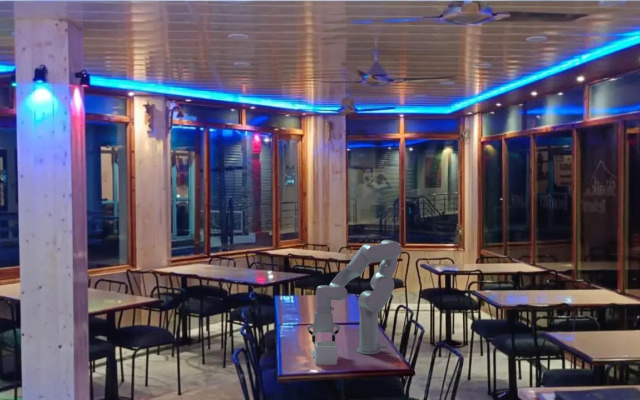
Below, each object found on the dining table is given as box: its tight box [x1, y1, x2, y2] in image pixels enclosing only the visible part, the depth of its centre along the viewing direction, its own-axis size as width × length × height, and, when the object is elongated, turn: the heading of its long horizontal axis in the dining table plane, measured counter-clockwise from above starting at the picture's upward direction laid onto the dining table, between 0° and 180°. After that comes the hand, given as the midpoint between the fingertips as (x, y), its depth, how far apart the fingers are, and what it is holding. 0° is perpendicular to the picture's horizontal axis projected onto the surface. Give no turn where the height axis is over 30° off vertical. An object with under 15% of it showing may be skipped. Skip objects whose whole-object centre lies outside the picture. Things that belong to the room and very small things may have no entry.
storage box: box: [314, 340, 338, 367], centre depth 298 cm, size 10×10×9 cm
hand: (323, 343), depth 312 cm, fingers open, 9 cm apart
